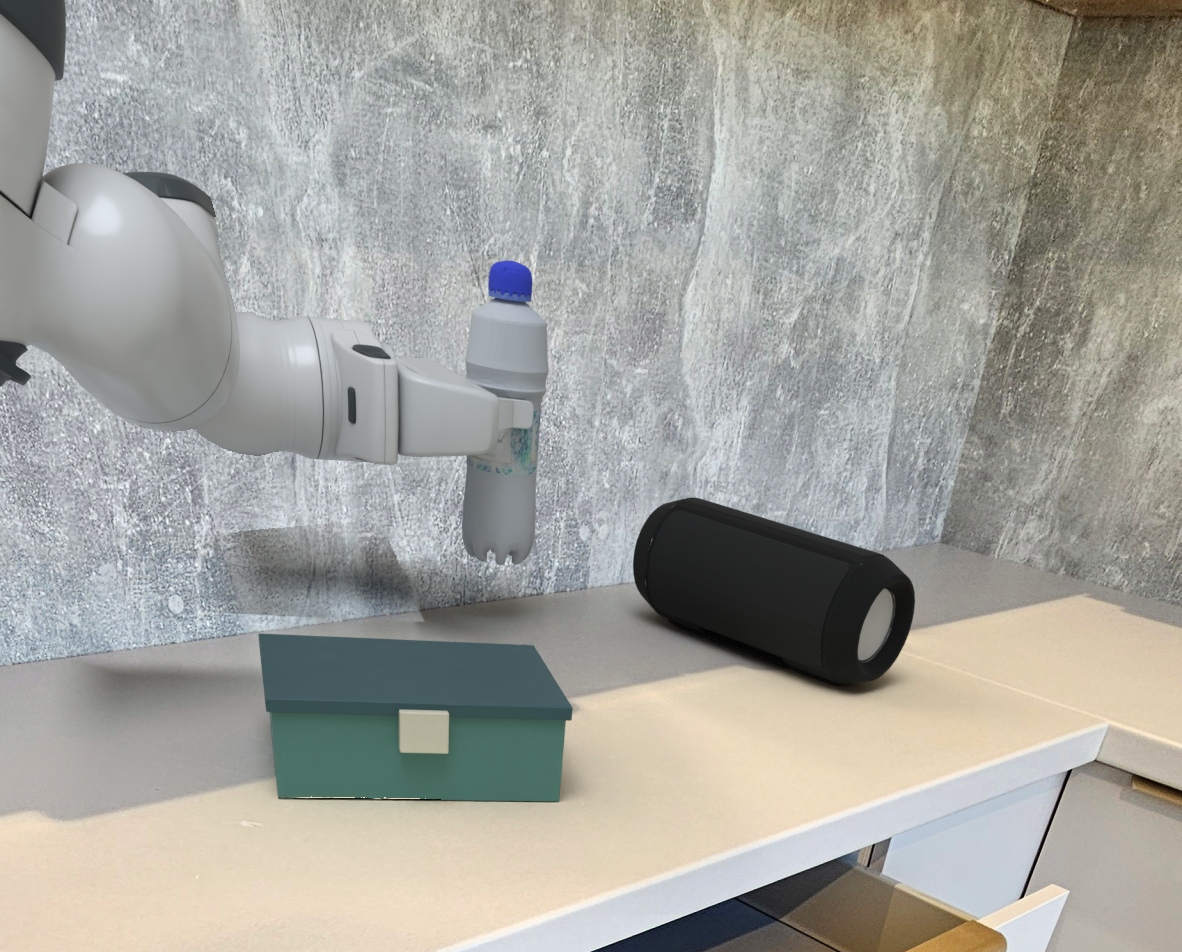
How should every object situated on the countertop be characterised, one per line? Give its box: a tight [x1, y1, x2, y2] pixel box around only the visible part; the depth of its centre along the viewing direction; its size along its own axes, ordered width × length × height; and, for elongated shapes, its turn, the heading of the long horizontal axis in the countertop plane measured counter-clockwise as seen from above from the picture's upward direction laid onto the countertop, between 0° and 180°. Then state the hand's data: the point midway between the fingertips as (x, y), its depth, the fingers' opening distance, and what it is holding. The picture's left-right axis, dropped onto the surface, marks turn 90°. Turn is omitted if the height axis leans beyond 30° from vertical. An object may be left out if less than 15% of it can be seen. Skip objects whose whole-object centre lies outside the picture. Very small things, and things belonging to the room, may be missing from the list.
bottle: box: [461, 260, 550, 566], centre depth 97 cm, size 7×7×20 cm
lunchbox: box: [258, 633, 574, 802], centre depth 78 cm, size 19×14×6 cm
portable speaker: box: [632, 496, 916, 686], centre depth 105 cm, size 26×10×10 cm, turn 45°
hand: (515, 405), depth 97 cm, fingers closed on bottle, 6 cm apart
